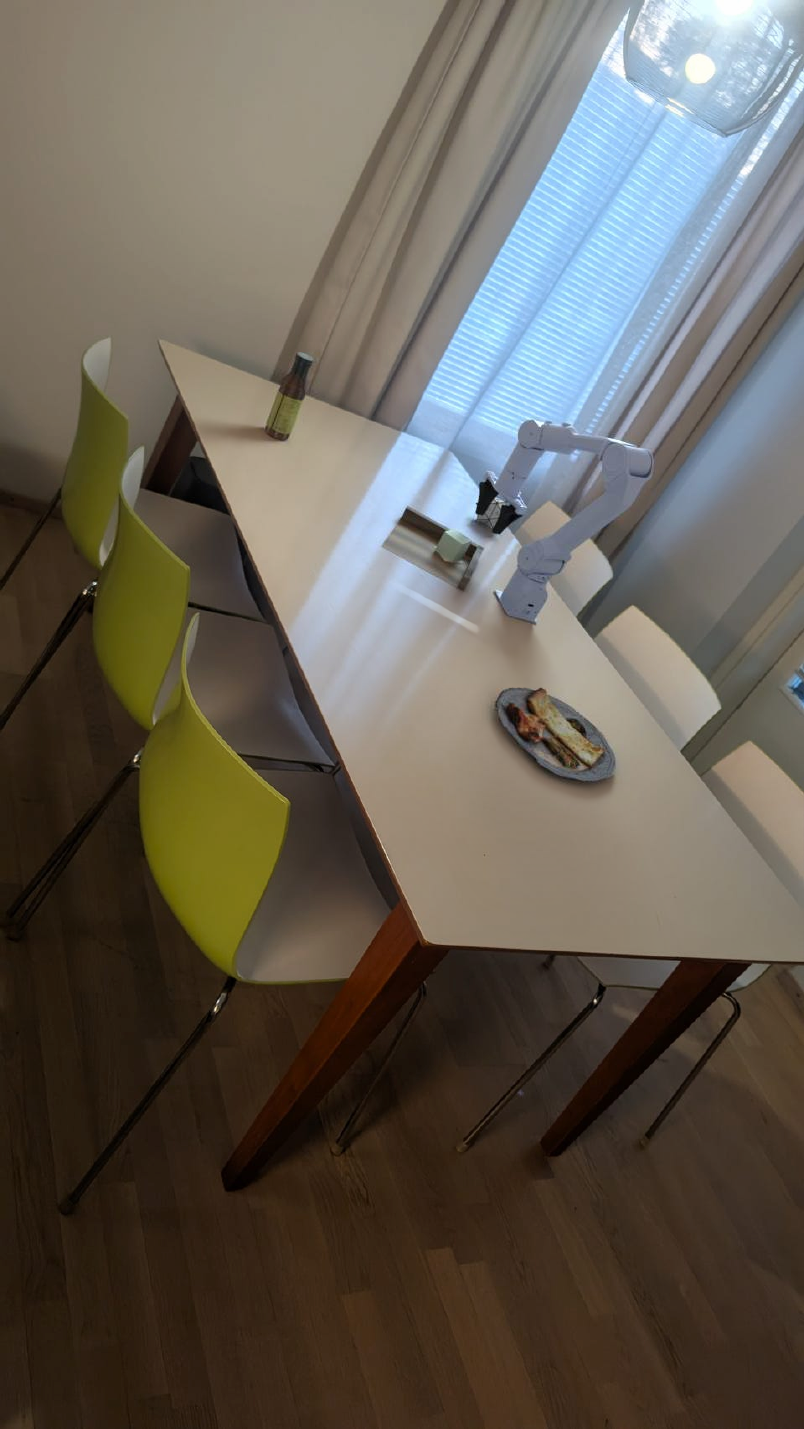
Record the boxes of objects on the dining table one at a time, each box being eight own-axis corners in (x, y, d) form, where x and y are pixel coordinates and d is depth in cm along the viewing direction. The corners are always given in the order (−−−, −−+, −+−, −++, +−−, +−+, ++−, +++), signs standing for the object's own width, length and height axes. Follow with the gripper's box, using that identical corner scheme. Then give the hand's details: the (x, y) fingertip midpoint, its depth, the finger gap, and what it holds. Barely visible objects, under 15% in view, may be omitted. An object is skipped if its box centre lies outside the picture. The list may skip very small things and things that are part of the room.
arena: (461, 595, 225) (469, 580, 223) (379, 550, 224) (387, 534, 222) (476, 562, 242) (484, 548, 240) (400, 520, 241) (407, 505, 239)
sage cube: (452, 563, 233) (462, 544, 230) (434, 550, 234) (444, 531, 231) (461, 559, 237) (472, 540, 234) (444, 546, 238) (454, 528, 235)
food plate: (469, 702, 191) (478, 688, 189) (541, 688, 208) (550, 675, 206) (560, 800, 180) (571, 786, 179) (628, 777, 198) (638, 764, 196)
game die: (479, 540, 263) (492, 523, 254) (462, 512, 264) (474, 493, 255) (507, 527, 266) (521, 509, 257) (490, 499, 267) (503, 480, 258)
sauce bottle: (293, 440, 250) (325, 364, 239) (277, 442, 245) (310, 364, 234) (273, 425, 251) (304, 349, 241) (257, 427, 246) (288, 349, 236)
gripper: (546, 492, 228) (516, 544, 235) (512, 457, 237) (484, 508, 244) (524, 488, 224) (494, 540, 231) (489, 452, 232) (461, 504, 239)
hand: (487, 523), depth 237 cm, fingers open, 7 cm apart
